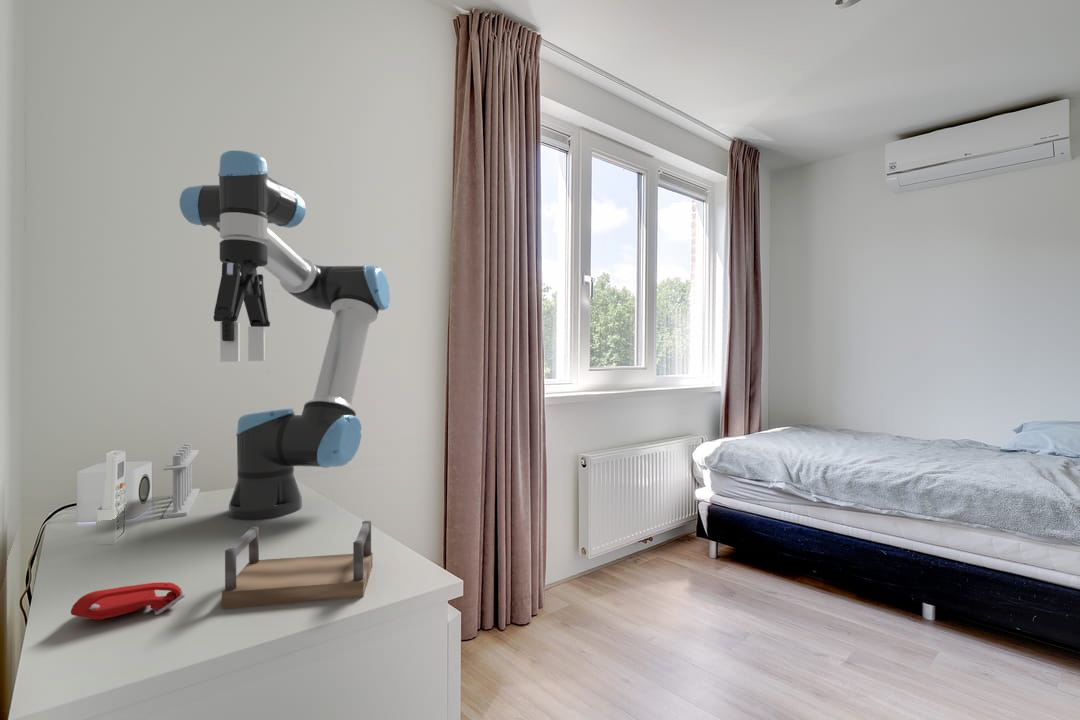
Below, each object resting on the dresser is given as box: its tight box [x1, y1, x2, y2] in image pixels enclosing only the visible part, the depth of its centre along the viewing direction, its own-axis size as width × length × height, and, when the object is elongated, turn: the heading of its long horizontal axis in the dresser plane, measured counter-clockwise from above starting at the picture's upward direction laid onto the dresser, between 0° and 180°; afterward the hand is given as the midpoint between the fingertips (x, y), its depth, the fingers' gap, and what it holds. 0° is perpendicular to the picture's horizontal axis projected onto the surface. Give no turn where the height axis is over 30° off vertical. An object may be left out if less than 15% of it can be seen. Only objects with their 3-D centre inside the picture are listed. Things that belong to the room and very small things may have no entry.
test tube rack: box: [162, 443, 200, 519], centre depth 132 cm, size 25×4×13 cm, turn 27°
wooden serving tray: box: [221, 520, 373, 610], centre depth 84 cm, size 12×19×8 cm, turn 101°
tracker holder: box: [70, 581, 186, 621], centre depth 75 cm, size 12×4×10 cm
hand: (244, 361), depth 97 cm, fingers open, 13 cm apart
